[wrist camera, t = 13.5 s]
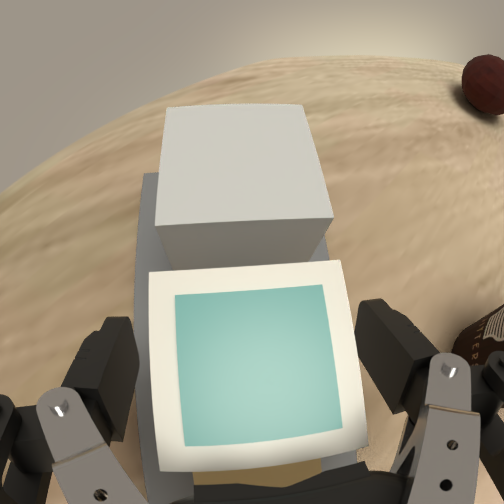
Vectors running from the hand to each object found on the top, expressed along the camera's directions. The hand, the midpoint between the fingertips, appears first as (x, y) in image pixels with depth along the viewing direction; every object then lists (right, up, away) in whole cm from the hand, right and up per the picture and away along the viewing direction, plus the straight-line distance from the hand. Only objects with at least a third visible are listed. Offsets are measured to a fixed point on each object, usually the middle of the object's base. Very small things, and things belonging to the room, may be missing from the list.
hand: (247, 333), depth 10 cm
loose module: (0, -4, +5) cm, 6 cm away
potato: (+33, +24, +22) cm, 46 cm away
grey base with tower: (0, -4, +7) cm, 8 cm away
